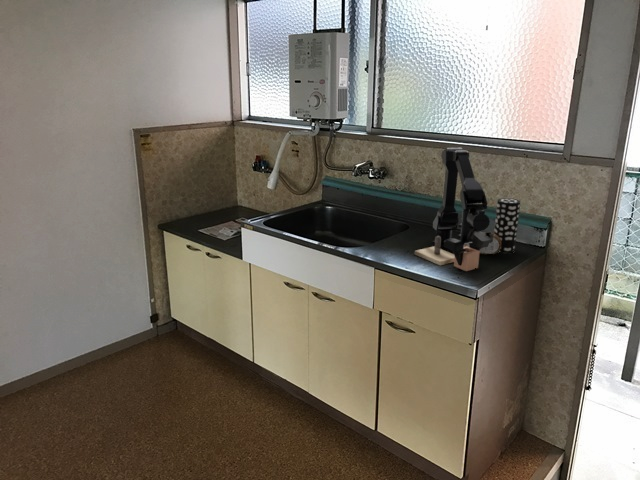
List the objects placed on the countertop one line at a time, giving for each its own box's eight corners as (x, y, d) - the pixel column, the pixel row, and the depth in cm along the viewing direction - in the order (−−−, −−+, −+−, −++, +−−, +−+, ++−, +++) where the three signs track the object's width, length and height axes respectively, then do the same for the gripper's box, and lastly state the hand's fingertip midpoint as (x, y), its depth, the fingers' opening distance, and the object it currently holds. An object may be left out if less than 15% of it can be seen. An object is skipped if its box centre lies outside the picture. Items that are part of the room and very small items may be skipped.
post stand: (433, 249, 207) (435, 229, 204) (459, 260, 196) (461, 238, 193) (414, 254, 202) (415, 233, 199) (439, 265, 191) (441, 243, 188)
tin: (500, 254, 202) (502, 233, 200) (499, 256, 200) (502, 235, 197) (460, 249, 207) (462, 229, 205) (459, 252, 205) (461, 231, 202)
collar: (465, 262, 193) (467, 246, 191) (477, 267, 188) (479, 251, 186) (453, 265, 190) (455, 249, 188) (466, 271, 185) (467, 254, 183)
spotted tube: (508, 254, 201) (514, 204, 195) (488, 250, 207) (493, 200, 201) (518, 249, 207) (524, 200, 201) (498, 245, 212) (503, 197, 206)
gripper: (467, 232, 173) (463, 275, 178) (506, 223, 182) (501, 265, 187) (444, 224, 182) (440, 265, 187) (481, 216, 191) (477, 256, 196)
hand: (466, 263), depth 189 cm, fingers closed on collar, 6 cm apart
